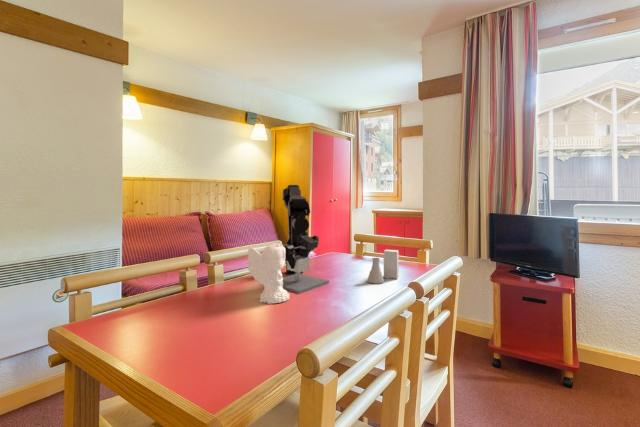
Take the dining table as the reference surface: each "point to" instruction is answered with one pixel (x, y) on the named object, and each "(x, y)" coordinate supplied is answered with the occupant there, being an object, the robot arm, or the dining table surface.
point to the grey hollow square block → (299, 264)
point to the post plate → (301, 282)
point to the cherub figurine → (269, 272)
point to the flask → (375, 272)
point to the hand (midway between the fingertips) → (298, 267)
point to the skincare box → (391, 264)
